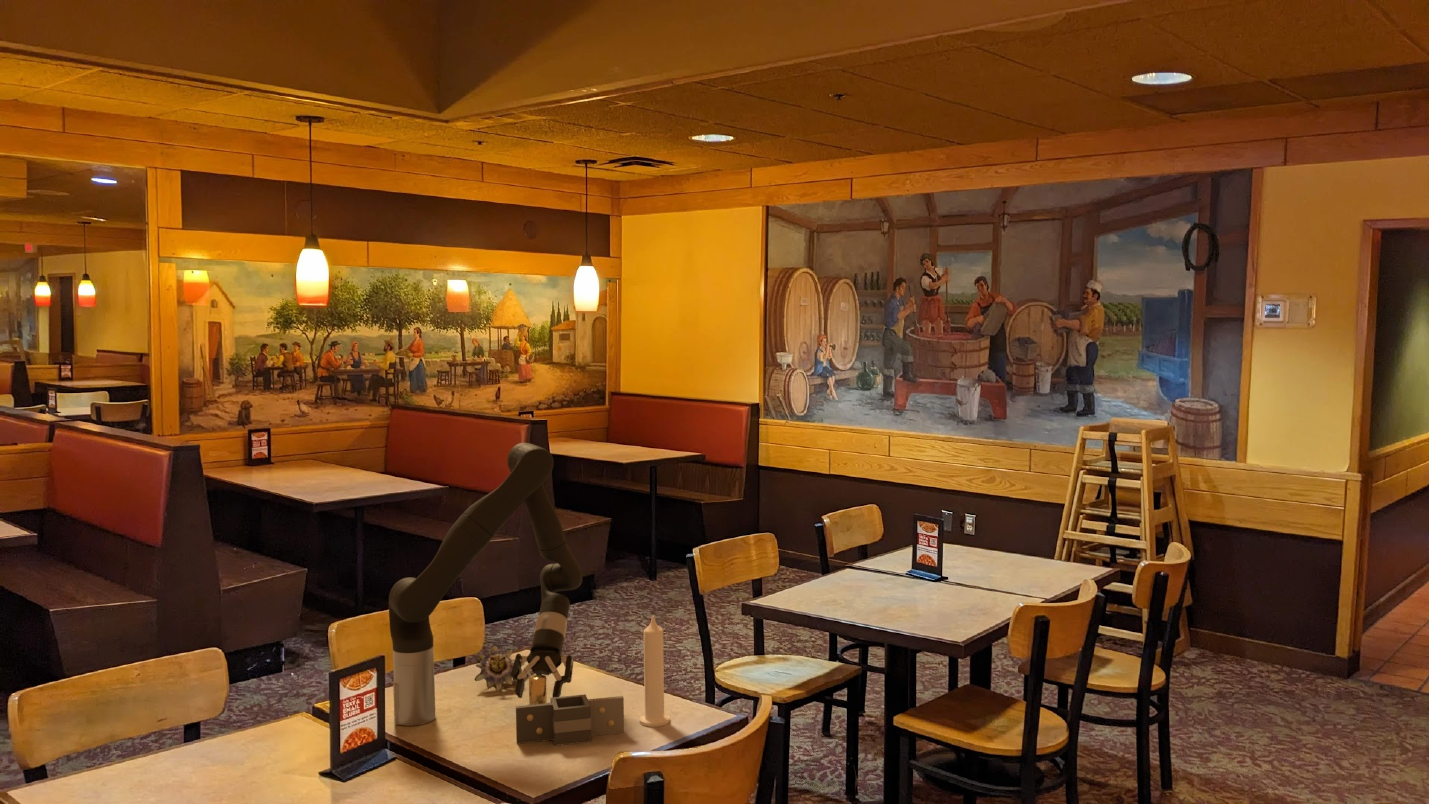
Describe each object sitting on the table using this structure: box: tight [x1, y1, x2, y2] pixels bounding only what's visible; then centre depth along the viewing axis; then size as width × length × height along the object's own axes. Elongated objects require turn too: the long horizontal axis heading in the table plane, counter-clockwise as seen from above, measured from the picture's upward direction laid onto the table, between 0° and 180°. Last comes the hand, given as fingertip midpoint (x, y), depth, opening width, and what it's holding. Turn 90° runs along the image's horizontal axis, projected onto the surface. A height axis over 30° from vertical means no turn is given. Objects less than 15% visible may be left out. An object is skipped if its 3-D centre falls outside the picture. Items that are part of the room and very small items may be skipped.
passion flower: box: [474, 645, 523, 692], centre depth 275 cm, size 11×11×12 cm
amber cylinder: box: [528, 674, 548, 705], centre depth 251 cm, size 4×4×10 cm
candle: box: [638, 615, 671, 728], centre depth 248 cm, size 7×7×25 cm
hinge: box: [515, 693, 625, 746], centre depth 240 cm, size 24×8×8 cm, turn 105°
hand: (536, 697), depth 250 cm, fingers open, 8 cm apart
